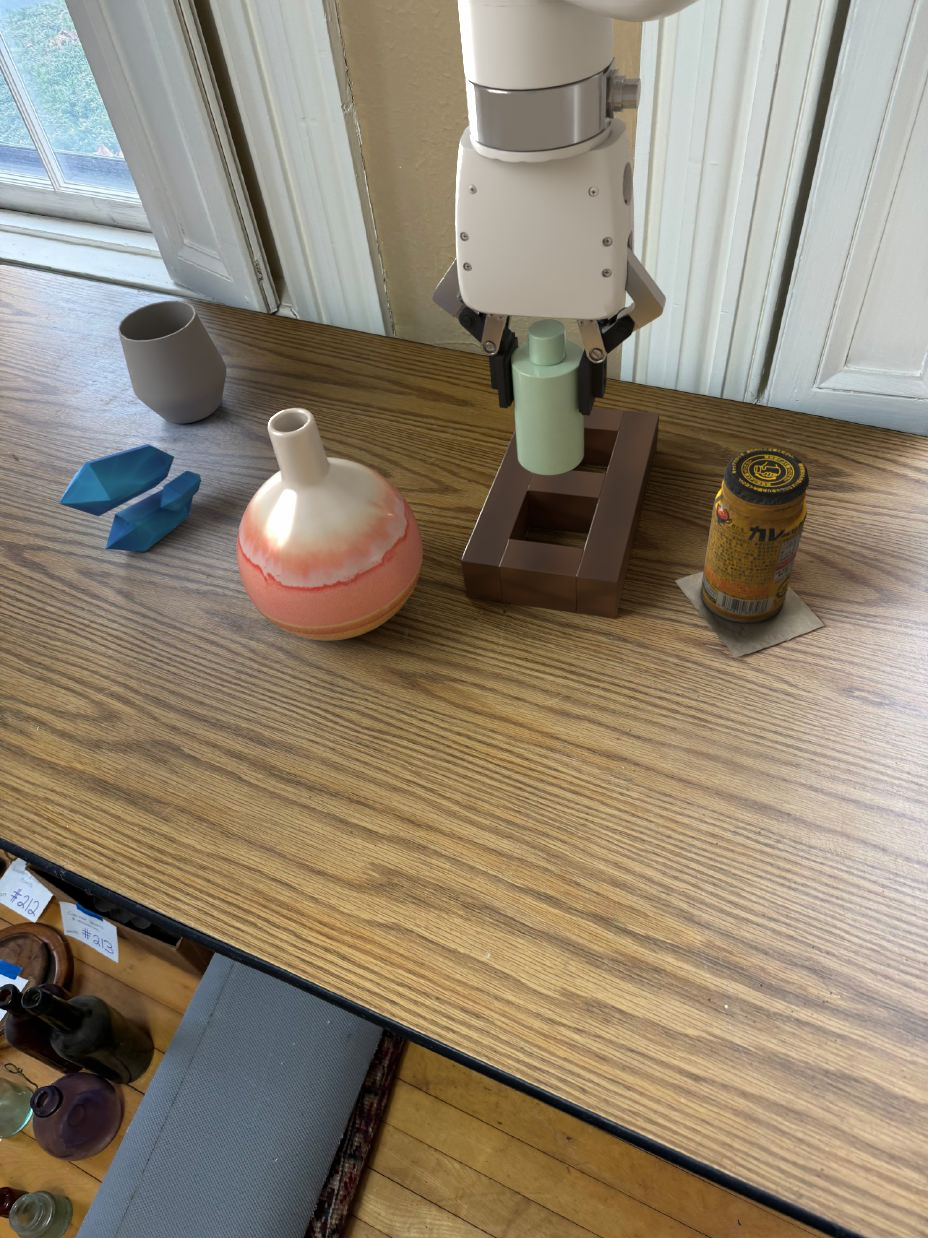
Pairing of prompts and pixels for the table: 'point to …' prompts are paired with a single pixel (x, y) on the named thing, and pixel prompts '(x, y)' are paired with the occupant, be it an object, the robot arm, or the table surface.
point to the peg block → (566, 522)
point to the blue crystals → (133, 495)
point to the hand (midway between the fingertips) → (548, 397)
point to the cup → (173, 361)
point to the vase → (326, 540)
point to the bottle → (547, 400)
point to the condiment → (754, 553)
